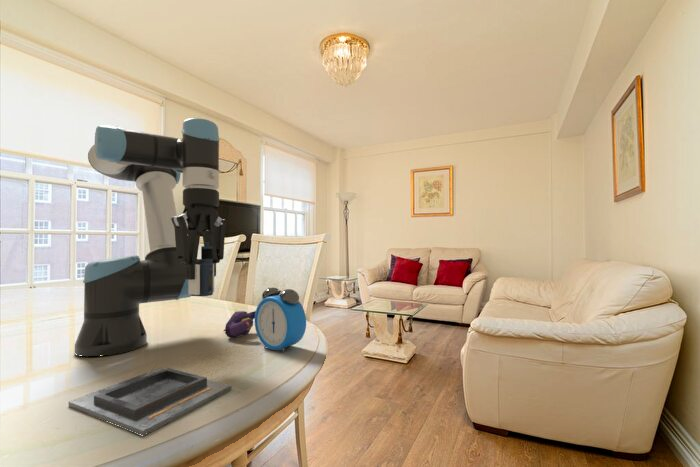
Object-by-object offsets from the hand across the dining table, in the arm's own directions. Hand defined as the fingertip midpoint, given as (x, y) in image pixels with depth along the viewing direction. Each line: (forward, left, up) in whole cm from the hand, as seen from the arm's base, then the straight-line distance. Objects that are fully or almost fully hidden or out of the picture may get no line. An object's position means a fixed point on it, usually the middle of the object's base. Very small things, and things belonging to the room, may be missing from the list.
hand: (201, 292), depth 75 cm
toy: (-8, +20, -16) cm, 27 cm away
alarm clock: (+10, +16, -16) cm, 24 cm away
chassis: (+7, -15, -16) cm, 23 cm away
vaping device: (0, 0, -1) cm, 1 cm away
